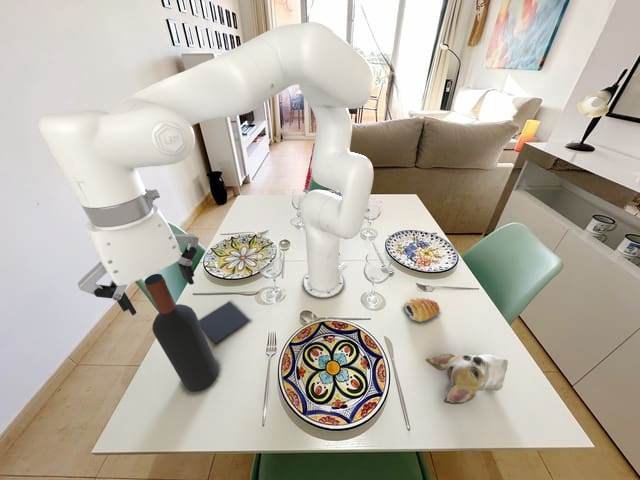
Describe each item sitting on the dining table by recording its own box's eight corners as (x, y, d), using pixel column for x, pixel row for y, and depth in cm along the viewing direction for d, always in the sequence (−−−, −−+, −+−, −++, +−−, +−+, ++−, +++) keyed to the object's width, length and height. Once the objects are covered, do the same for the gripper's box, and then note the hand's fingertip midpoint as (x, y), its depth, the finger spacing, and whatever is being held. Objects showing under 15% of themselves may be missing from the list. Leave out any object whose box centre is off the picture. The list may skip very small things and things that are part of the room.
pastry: (429, 300, 80) (432, 290, 77) (444, 317, 74) (447, 308, 72) (401, 306, 78) (403, 297, 76) (413, 325, 72) (416, 316, 70)
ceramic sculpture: (528, 381, 51) (450, 390, 50) (514, 403, 55) (442, 412, 55) (494, 333, 59) (427, 341, 59) (484, 356, 64) (422, 364, 64)
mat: (229, 302, 80) (229, 301, 80) (248, 321, 75) (248, 319, 74) (197, 322, 74) (197, 321, 74) (215, 344, 69) (215, 343, 68)
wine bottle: (181, 396, 58) (121, 300, 41) (185, 365, 64) (134, 269, 47) (218, 386, 60) (174, 289, 43) (218, 356, 66) (180, 261, 49)
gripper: (172, 183, 45) (199, 262, 55) (36, 221, 35) (99, 311, 44) (192, 196, 41) (217, 280, 50) (43, 244, 30) (111, 338, 40)
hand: (162, 294), depth 47 cm, fingers open, 9 cm apart
